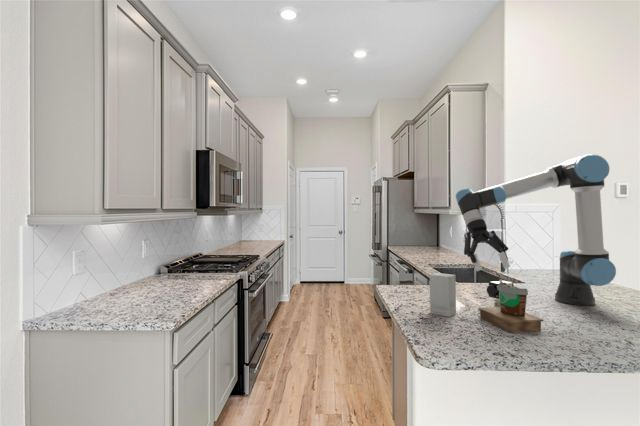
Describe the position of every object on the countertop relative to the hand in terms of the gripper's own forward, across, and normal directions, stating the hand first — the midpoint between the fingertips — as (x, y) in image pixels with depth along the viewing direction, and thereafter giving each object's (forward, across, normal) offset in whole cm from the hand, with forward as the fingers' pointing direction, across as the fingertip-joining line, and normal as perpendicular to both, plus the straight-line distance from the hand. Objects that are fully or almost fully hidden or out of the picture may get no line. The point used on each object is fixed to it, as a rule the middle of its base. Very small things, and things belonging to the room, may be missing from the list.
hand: (493, 269), depth 148 cm
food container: (+19, +8, +7) cm, 21 cm away
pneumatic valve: (+13, -6, -12) cm, 19 cm away
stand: (+22, +7, +5) cm, 24 cm away
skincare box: (+13, +23, -10) cm, 28 cm away
